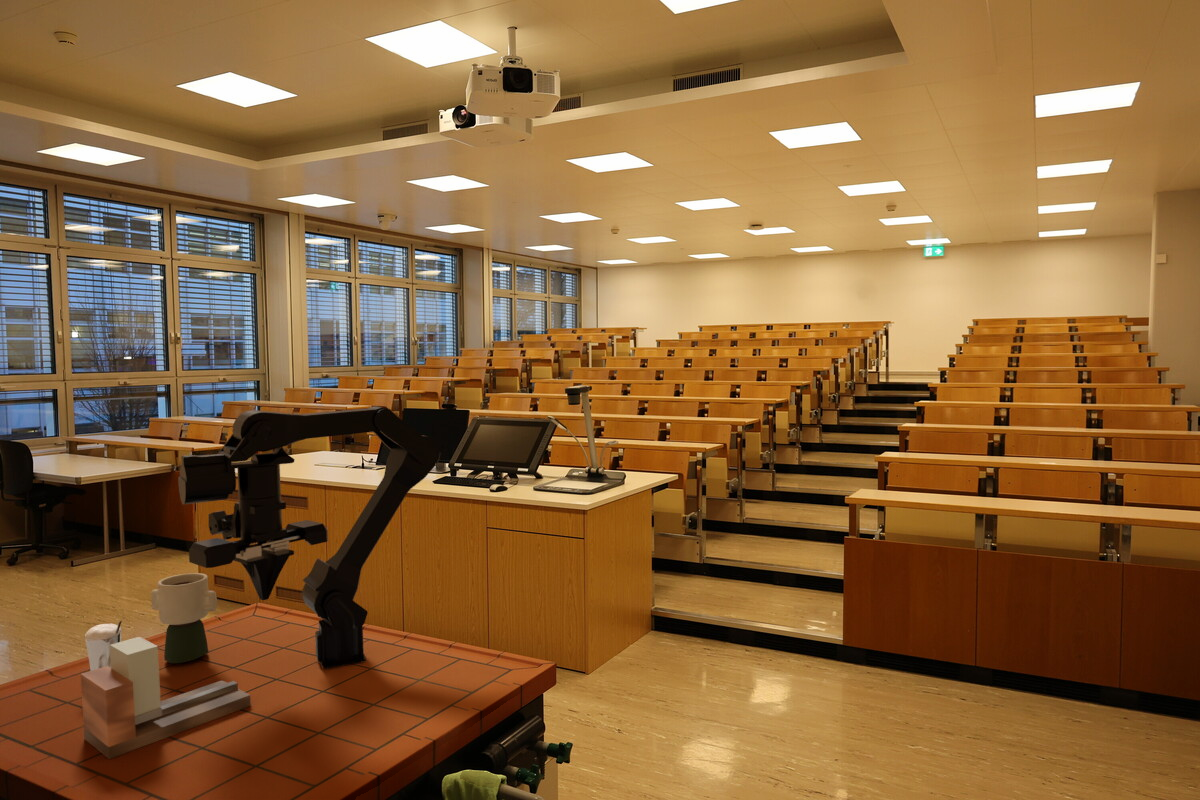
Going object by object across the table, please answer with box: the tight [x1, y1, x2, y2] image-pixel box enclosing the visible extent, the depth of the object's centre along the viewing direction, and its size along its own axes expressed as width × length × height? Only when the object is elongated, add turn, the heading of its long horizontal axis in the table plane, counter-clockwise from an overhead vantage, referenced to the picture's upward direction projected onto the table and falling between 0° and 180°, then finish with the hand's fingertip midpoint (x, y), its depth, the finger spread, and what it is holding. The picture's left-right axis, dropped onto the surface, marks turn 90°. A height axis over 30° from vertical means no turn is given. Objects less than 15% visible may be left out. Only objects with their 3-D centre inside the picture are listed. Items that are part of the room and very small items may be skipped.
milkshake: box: [84, 620, 123, 671], centre depth 113 cm, size 4×5×10 cm
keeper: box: [110, 636, 162, 725], centre depth 99 cm, size 4×6×9 cm, turn 52°
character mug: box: [150, 572, 218, 664], centre depth 123 cm, size 11×7×13 cm, turn 84°
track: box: [80, 666, 251, 760], centre depth 102 cm, size 18×8×8 cm, turn 142°
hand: (264, 599), depth 115 cm, fingers closed
